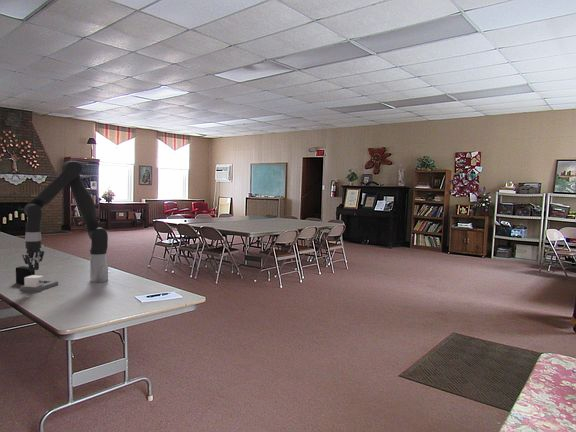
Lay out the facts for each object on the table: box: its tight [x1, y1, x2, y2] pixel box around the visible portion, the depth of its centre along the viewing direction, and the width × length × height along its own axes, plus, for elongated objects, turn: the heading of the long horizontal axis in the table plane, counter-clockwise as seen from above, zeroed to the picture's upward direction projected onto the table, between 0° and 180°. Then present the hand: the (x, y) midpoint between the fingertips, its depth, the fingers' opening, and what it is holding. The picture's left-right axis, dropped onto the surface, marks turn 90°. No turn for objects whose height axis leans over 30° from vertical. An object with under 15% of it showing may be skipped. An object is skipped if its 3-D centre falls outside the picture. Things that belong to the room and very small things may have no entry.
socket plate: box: [19, 279, 59, 293], centre depth 234 cm, size 11×16×2 cm
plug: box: [23, 274, 45, 287], centre depth 229 cm, size 9×6×7 cm, turn 81°
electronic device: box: [15, 265, 36, 285], centre depth 241 cm, size 4×10×10 cm, turn 71°
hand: (33, 270), depth 229 cm, fingers open, 3 cm apart
